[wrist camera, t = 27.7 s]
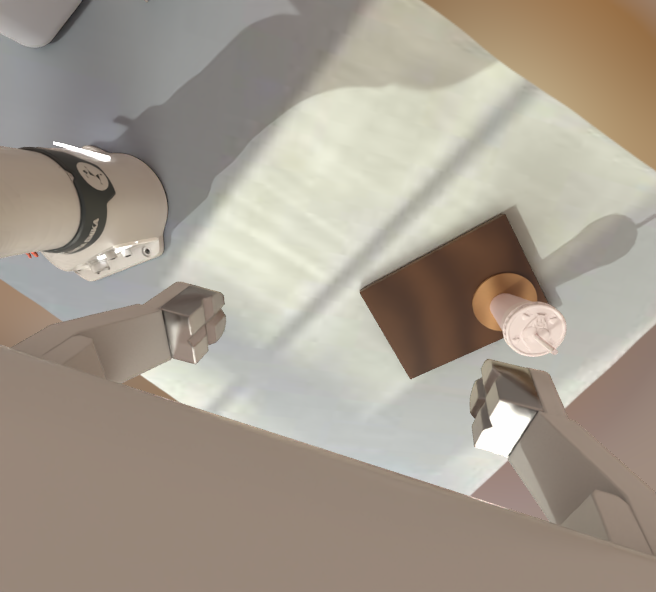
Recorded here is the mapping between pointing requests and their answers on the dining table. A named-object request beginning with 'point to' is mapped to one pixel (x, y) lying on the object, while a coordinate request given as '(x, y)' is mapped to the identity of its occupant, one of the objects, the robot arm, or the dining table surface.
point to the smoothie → (528, 324)
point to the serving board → (451, 296)
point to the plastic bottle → (34, 19)
